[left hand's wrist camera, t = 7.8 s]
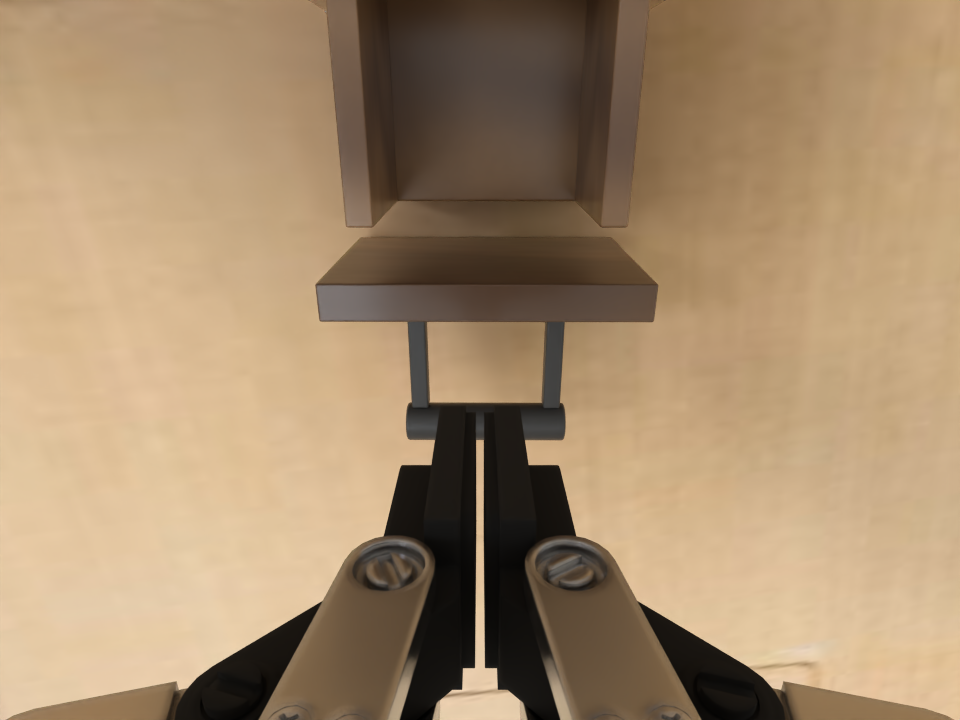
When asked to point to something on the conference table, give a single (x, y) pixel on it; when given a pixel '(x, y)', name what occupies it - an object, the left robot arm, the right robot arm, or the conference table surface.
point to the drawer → (487, 170)
